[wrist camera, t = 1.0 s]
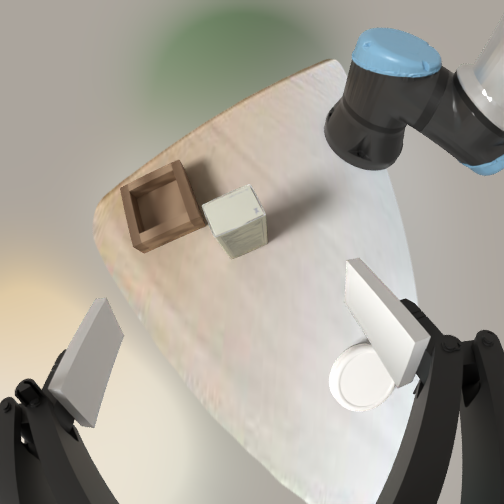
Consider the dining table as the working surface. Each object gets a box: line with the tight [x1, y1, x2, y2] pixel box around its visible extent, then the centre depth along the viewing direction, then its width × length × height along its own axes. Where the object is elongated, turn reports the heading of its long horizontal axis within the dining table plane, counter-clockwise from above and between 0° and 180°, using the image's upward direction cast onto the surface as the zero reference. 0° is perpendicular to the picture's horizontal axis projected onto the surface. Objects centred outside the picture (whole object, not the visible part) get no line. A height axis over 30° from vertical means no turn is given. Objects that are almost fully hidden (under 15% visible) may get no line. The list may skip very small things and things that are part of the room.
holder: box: [120, 160, 206, 253], centre depth 41 cm, size 11×11×4 cm
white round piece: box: [329, 344, 395, 412], centre depth 34 cm, size 10×10×4 cm
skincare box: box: [202, 184, 268, 259], centre depth 35 cm, size 6×4×12 cm
